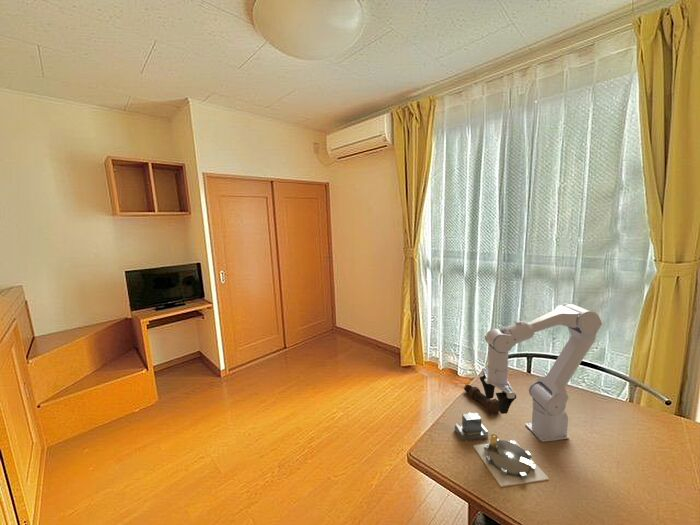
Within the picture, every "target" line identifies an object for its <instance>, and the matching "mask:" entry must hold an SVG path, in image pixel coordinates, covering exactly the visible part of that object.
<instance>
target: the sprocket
mask: <svg viewBox="0 0 700 525" xmlns="http://www.w3.org/2000/svg"><path fill="white" fill-rule="evenodd" d="M498 437H499V436H498V435H497V434H495V433H492V434H491V435H490V444H489V445H487V444H488V443H484V444H485V446H484V450H485V451H487V452H488V456H486V461H487V462H488V464H491V463H492V464H493V465H494V466H495V467H496V468H497V469H498V470H500V471H501V474H503V475H505V476H506V475H507V474H508V475H511V476H518V477H520V478H521V479H526V477H527V474H528V473H529V472H530V471H532V472H535V465H534V464H532V461H531V460H530V458H531V459H532V454H531V452H530V451H529V450H524V449H523V447H522V446H520V447H519V446H518V445H516V442H517V441H516V442H513V441H511V440H502V439H500V440H499V438H498ZM508 441H510V442H508Z"/></svg>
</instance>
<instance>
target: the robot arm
mask: <svg viewBox="0 0 700 525" xmlns="http://www.w3.org/2000/svg"><path fill="white" fill-rule="evenodd" d="M602 325H603V322H602V320H601V318H600V316H599V314H598V313H597V312H595V311H592V310H588V309H586V308H584V307H581V306H579V305H576V304H575V303H572V302H565V303H562V304H560V305H557V306H556V307H555V308H554V309H553V310H552V311H550V312H547V313H546V314H545V313H544V314H543V315H541V316H538V317H537V318H534V319H532V320H530V321H525V320H516V321H514V323H511V324H510V325H507V326H502V327H500V329H499V328H492V329H490V330H489V331H488V332H487V333H486V335H485V336H484V340H485V342H486V343H487V345H488V346H487V347H488V350H487V367H482V368H481V374H482V376H480V377H479V380H480V382H481V384H482V387H483V390H484V395H485V396H486V398H487V399H491V400H492V399H494V397H495V395H496V397H497V400H498V401H499V410H500V411H499V413H500V414H501V415H503V414H508V413H509V409H510V408H511V405H512V403H513V402H514V401H515V400H516V399H517V394H516V391H514V390H513V388H512V386H511V385H510V382H509V381H508V375H509V374H508V371H509V370H508V369H509V367H508V366H509V352H510V351H512V348H513V347H514V346H516V344H519V343H523V342H525V341H527V340H530V339H533V337H534V336H535V333H537V332H540V331H545V330H547V329H550V328H553V327H557V326H565V327H567V328H568V331H569V333H570V337H569V339H568V340H567V342H566V344H565V345H564V347H563V348H562V350H561V351H560V353H559V354H558V357H557V358H556V359H555V361H554V363H553V365H552V366H551V368H550V369H549V371H548V372H547V375H545V376H539V377H537V379H536V380H535V381H534V382H533V383H531V384H530V385H529V388H528V394H529V396H531V399H532V400H531V401H532V412H531V413H532V414H531V422H529V423H528V422H527V423H525V424H524V425H525V426H526V427H527V428H528V429H529V430H530V432H532V434H534V436H536V438H537V439H539V440H540V442H542V443H545V442H553V441H560V440H561V441H562V440H567V439H569V438H570V437H569V435H568V426H569V425H568V423H569V416H568V414H567V412H566V410H565V409H566V407H567V406H566V405H567V402H568V400H569V395H568V392H567V388H566V387H567V386H568V384H569V382H570V380H571V379H572V377H573V376H574V374H575V373H576V371H577V370H578V368H579V366H580V365H581V363H582V362H583V360H584V359H585V356H586V355H587V353H588V352H589V350H590V349H591V347H592V346H593V344H594V343H595V341H596V338H597V337H596V336H597V333H598V331H599V329H601V326H602ZM495 388H497V389H499V390H501V391H500V392H495Z"/></svg>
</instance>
